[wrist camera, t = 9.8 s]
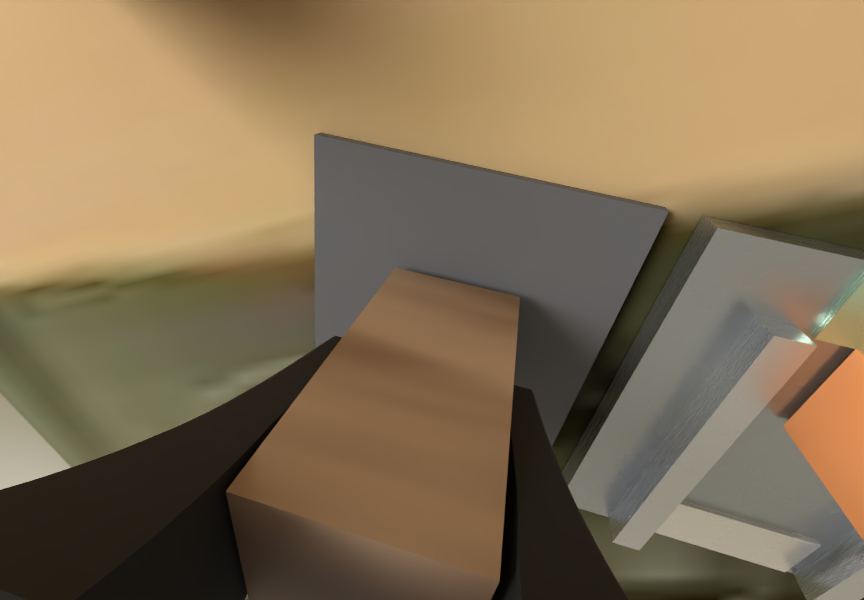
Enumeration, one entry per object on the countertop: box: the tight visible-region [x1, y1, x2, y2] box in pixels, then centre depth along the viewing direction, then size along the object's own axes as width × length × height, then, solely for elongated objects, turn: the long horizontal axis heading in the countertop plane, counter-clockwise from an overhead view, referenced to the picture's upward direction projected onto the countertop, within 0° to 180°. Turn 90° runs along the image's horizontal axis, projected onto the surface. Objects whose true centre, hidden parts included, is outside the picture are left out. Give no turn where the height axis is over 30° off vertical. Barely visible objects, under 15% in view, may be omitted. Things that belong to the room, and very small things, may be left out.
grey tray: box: [562, 216, 864, 600], centre depth 12 cm, size 12×12×2 cm
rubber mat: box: [314, 133, 669, 447], centre depth 14 cm, size 10×10×1 cm
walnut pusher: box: [226, 268, 520, 600], centre depth 10 cm, size 4×4×8 cm
